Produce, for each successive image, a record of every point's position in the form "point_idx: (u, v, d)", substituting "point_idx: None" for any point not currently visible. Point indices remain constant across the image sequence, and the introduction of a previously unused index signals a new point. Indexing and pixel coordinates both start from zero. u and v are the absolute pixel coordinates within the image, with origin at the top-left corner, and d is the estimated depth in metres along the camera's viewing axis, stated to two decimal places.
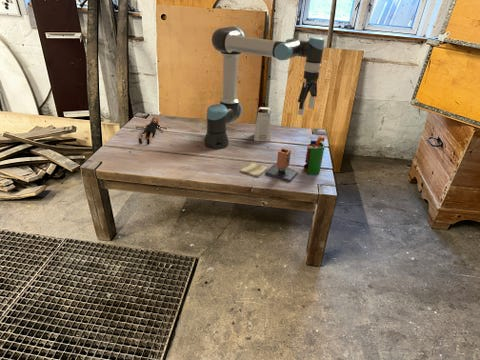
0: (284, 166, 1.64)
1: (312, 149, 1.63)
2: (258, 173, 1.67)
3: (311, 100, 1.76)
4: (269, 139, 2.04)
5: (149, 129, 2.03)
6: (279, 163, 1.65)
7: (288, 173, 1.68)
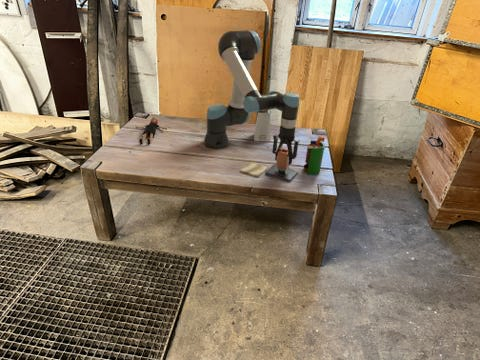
0: (284, 166, 1.64)
1: (312, 149, 1.63)
2: (258, 173, 1.67)
3: None
4: (269, 139, 2.04)
5: (149, 129, 2.02)
6: (279, 163, 1.65)
7: (288, 173, 1.68)
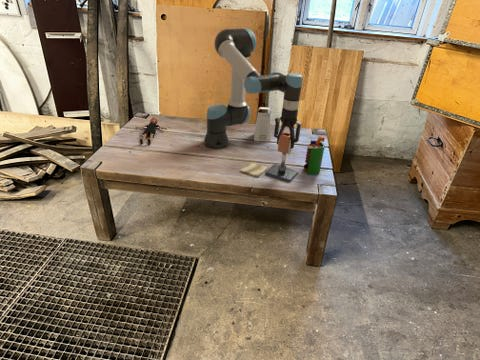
0: (286, 151, 1.60)
1: (312, 149, 1.63)
2: (258, 173, 1.67)
3: None
4: (269, 139, 2.04)
5: (149, 129, 2.02)
6: (281, 147, 1.60)
7: (288, 173, 1.68)
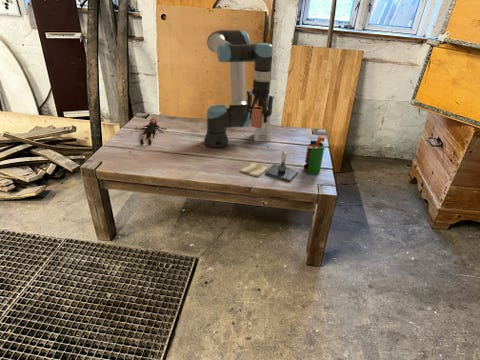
0: (259, 125, 1.56)
1: (312, 149, 1.63)
2: (258, 173, 1.67)
3: None
4: (269, 139, 2.04)
5: (149, 130, 2.02)
6: (254, 121, 1.56)
7: (288, 173, 1.68)
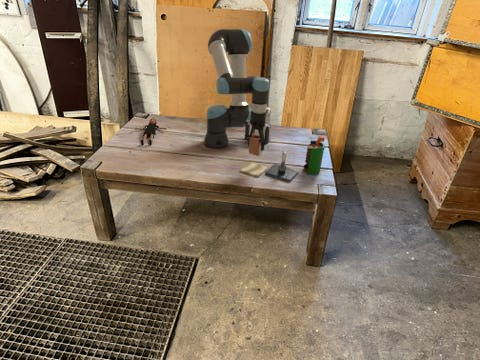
0: (256, 153, 1.63)
1: (312, 149, 1.63)
2: (258, 173, 1.67)
3: None
4: (269, 139, 2.04)
5: (149, 130, 2.01)
6: (251, 149, 1.64)
7: (288, 173, 1.68)
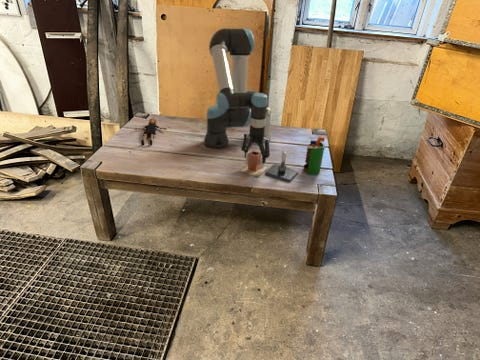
0: (254, 169, 1.68)
1: (312, 149, 1.63)
2: (258, 173, 1.67)
3: None
4: None
5: (149, 130, 2.01)
6: (250, 165, 1.69)
7: (288, 173, 1.68)
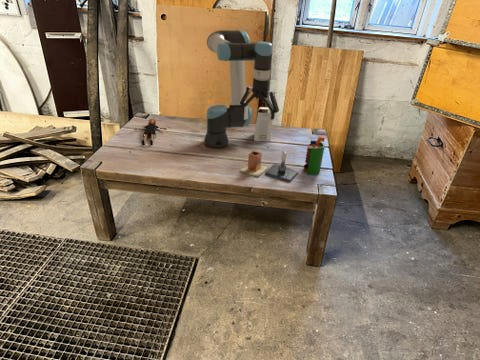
0: (254, 169, 1.68)
1: (312, 149, 1.63)
2: (258, 173, 1.67)
3: None
4: (269, 139, 2.04)
5: (149, 130, 2.01)
6: (250, 165, 1.69)
7: (288, 173, 1.68)
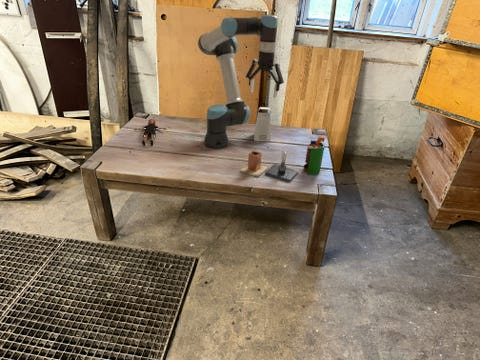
0: (254, 169, 1.68)
1: (312, 149, 1.63)
2: (258, 173, 1.67)
3: None
4: (269, 139, 2.04)
5: (149, 130, 2.01)
6: (250, 165, 1.69)
7: (288, 173, 1.68)
